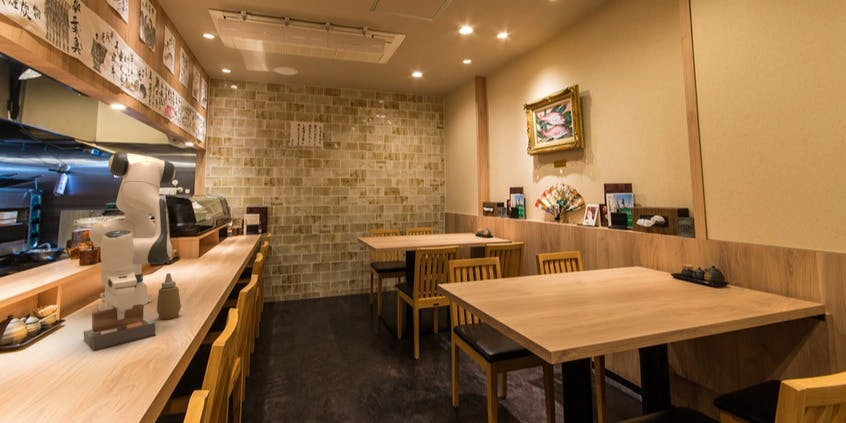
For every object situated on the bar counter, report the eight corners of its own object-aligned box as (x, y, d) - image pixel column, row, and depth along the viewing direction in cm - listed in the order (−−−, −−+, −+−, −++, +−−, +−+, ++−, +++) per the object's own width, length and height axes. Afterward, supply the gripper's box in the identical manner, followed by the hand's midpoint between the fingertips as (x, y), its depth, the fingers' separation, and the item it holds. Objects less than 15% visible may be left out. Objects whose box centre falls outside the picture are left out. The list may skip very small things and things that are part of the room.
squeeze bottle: (185, 314, 145) (185, 271, 145) (170, 321, 137) (169, 276, 137) (168, 313, 146) (167, 271, 146) (151, 320, 138) (150, 275, 138)
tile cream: (100, 334, 115) (100, 332, 115) (116, 331, 118) (116, 328, 118) (102, 344, 113) (103, 341, 113) (118, 340, 117) (119, 338, 116)
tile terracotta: (125, 326, 120) (126, 325, 120) (140, 323, 124) (141, 321, 123) (127, 337, 119) (128, 336, 119) (142, 334, 123) (143, 332, 122)
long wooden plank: (92, 330, 116) (92, 312, 116) (140, 320, 126) (140, 304, 126) (94, 332, 114) (94, 314, 114) (143, 322, 124) (143, 305, 124)
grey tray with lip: (83, 340, 118) (83, 327, 118) (142, 326, 131) (142, 314, 131) (94, 351, 110) (93, 337, 110) (155, 335, 123) (155, 323, 122)
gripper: (98, 275, 123) (99, 313, 124) (113, 284, 111) (114, 326, 111) (121, 272, 128) (122, 309, 129) (138, 280, 116) (139, 321, 117)
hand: (118, 317), depth 120 cm, fingers closed on long wooden plank, 3 cm apart
